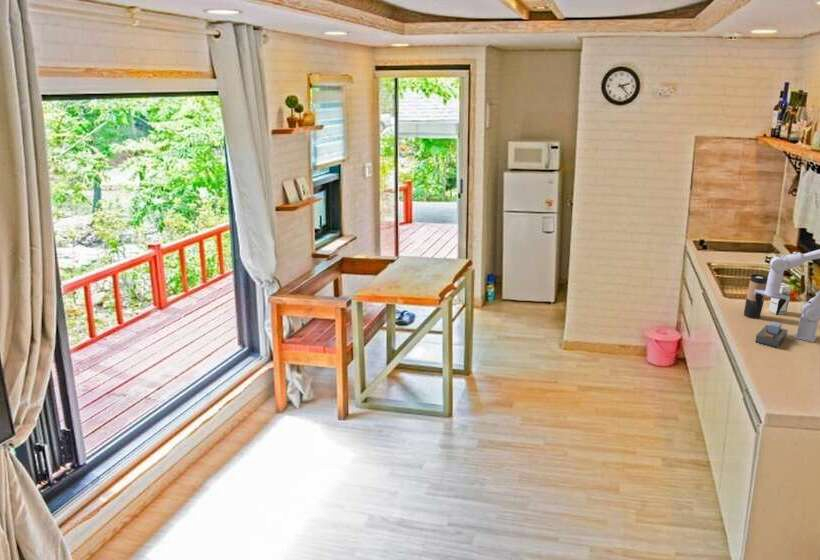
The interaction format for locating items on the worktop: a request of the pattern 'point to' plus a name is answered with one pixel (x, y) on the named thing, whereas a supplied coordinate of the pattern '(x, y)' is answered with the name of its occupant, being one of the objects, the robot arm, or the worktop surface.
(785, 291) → the syrup box
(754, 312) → the travel mug
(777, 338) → the grey slotted block
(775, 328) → the plug
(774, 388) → the worktop surface
